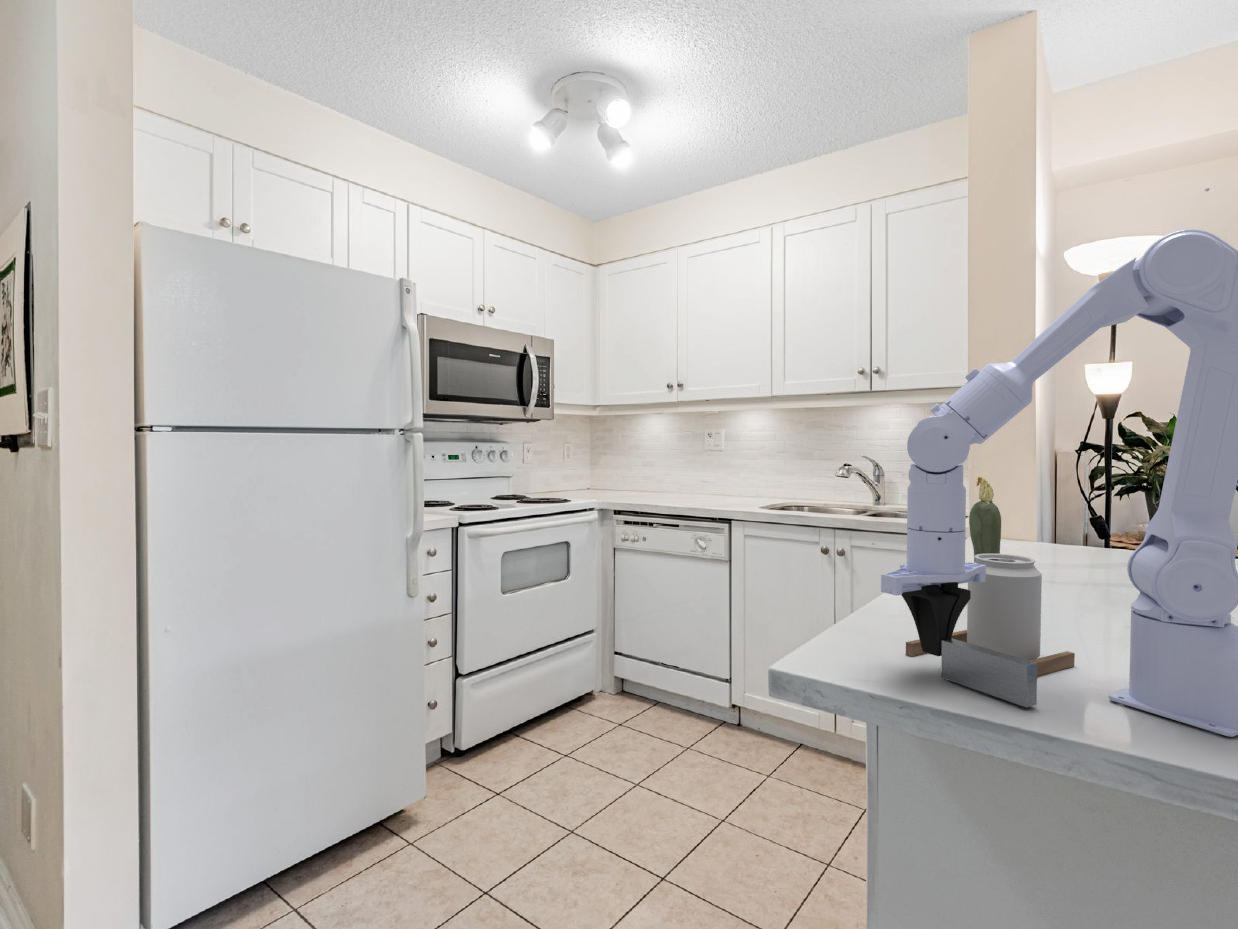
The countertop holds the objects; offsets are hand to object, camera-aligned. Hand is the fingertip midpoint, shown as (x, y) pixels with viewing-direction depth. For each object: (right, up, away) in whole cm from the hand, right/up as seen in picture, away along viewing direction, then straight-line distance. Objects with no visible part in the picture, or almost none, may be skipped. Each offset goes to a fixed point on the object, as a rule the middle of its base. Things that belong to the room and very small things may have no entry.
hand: (934, 653), depth 72 cm
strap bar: (+3, -3, -5) cm, 6 cm away
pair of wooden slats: (+9, -2, +5) cm, 10 cm away
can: (+11, -2, +6) cm, 13 cm away
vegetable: (+23, -2, +31) cm, 39 cm away
